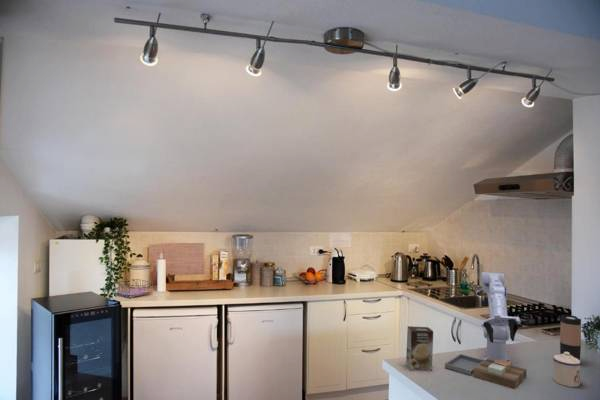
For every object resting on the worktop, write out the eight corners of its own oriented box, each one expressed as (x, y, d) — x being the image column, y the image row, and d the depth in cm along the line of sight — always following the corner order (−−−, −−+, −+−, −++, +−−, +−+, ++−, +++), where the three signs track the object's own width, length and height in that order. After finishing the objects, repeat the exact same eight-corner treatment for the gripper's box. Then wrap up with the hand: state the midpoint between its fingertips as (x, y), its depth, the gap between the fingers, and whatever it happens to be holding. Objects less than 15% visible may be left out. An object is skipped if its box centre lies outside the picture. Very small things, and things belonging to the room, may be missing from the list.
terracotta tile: (497, 364, 169) (497, 359, 169) (510, 367, 166) (510, 362, 166) (493, 367, 165) (493, 362, 165) (506, 370, 162) (506, 365, 162)
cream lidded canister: (580, 389, 153) (581, 358, 154) (551, 383, 159) (552, 353, 159) (580, 379, 163) (581, 349, 163) (553, 373, 169) (554, 344, 169)
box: (460, 358, 182) (460, 353, 182) (484, 365, 175) (484, 360, 175) (444, 368, 171) (444, 363, 171) (470, 376, 164) (470, 370, 164)
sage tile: (492, 368, 164) (492, 363, 164) (505, 372, 161) (505, 366, 161) (487, 371, 161) (487, 366, 161) (501, 375, 157) (501, 370, 157)
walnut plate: (487, 365, 175) (487, 358, 175) (526, 376, 164) (526, 369, 164) (473, 376, 163) (473, 369, 163) (514, 389, 153) (514, 380, 153)
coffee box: (410, 370, 168) (411, 330, 168) (405, 364, 174) (406, 326, 174) (432, 370, 168) (433, 331, 168) (427, 364, 174) (428, 326, 175)
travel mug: (557, 362, 180) (558, 316, 181) (561, 358, 186) (562, 313, 186) (578, 367, 175) (579, 320, 176) (581, 363, 181) (582, 317, 181)
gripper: (477, 307, 173) (478, 336, 163) (515, 302, 165) (518, 332, 155) (484, 317, 176) (485, 346, 166) (520, 313, 168) (524, 343, 158)
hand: (501, 340), depth 161 cm, fingers open, 7 cm apart
